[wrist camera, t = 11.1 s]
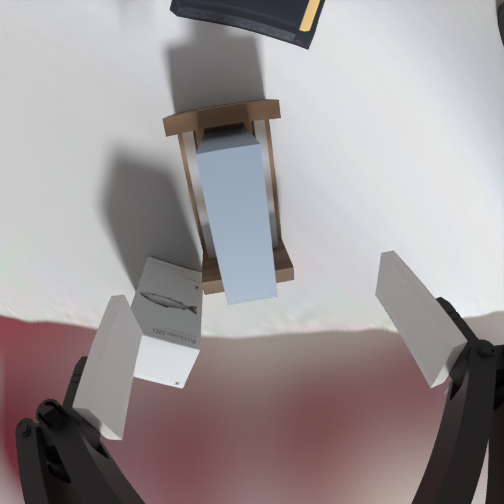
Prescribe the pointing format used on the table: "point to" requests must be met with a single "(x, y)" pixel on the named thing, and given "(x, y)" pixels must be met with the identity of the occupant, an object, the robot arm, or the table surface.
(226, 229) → the blue-grey rectangular block
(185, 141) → the track frame
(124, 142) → the table surface
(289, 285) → the table surface
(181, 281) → the supplement box
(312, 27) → the wallet
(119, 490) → the robot arm
